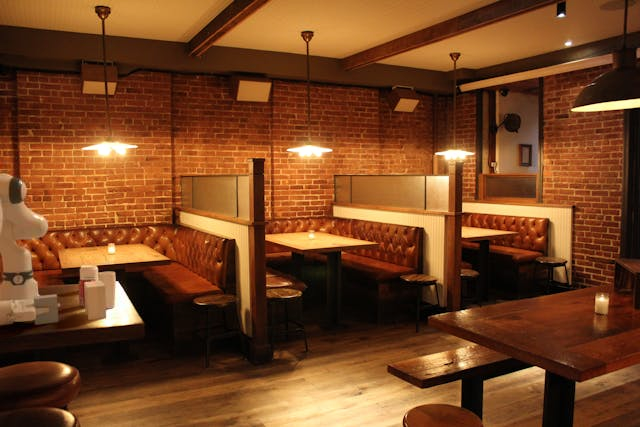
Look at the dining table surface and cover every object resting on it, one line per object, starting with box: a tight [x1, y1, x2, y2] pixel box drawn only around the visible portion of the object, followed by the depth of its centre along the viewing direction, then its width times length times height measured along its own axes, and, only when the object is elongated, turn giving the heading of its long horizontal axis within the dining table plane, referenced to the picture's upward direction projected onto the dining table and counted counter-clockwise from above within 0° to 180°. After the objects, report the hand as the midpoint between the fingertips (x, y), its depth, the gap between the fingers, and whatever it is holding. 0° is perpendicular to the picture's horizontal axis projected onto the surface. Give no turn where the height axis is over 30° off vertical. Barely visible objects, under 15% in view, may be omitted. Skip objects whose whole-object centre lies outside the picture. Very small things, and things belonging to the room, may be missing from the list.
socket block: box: [84, 280, 107, 321], centre depth 221 cm, size 11×6×13 cm, turn 29°
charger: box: [34, 293, 61, 326], centre depth 213 cm, size 4×9×10 cm, turn 119°
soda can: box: [78, 277, 95, 308], centre depth 237 cm, size 7×7×12 cm
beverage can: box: [79, 264, 99, 281], centre depth 266 cm, size 8×8×12 cm
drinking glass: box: [98, 271, 117, 310], centre depth 233 cm, size 7×7×15 cm
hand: (48, 307), depth 213 cm, fingers closed on charger, 4 cm apart
